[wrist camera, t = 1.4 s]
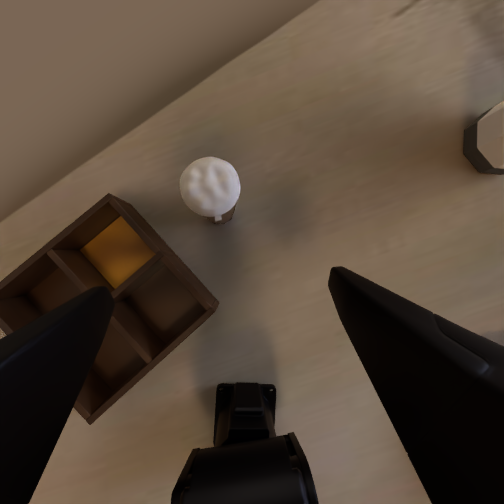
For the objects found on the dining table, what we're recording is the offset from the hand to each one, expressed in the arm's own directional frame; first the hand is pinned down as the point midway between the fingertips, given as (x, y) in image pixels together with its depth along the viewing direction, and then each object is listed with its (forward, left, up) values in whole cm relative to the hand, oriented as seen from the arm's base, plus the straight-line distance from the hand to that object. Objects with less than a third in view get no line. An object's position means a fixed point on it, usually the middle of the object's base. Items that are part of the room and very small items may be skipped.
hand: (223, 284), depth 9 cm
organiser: (-4, +12, -15) cm, 20 cm away
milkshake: (+6, +2, -16) cm, 17 cm away
